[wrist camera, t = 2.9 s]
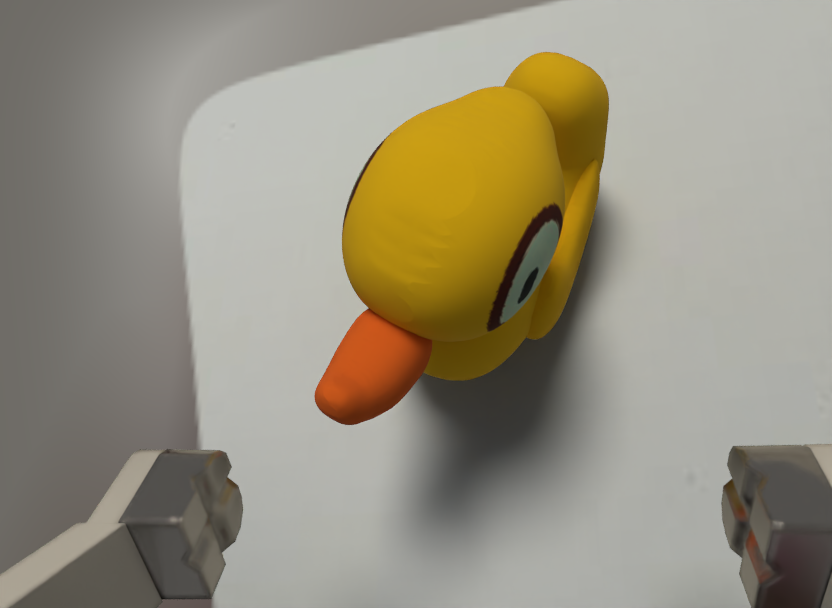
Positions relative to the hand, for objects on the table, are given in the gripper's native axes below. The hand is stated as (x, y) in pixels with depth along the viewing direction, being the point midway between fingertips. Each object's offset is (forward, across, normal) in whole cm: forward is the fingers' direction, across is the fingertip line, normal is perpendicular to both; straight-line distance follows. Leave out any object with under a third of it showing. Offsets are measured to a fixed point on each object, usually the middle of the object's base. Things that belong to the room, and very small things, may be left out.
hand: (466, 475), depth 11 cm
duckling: (+12, 0, +3) cm, 12 cm away
